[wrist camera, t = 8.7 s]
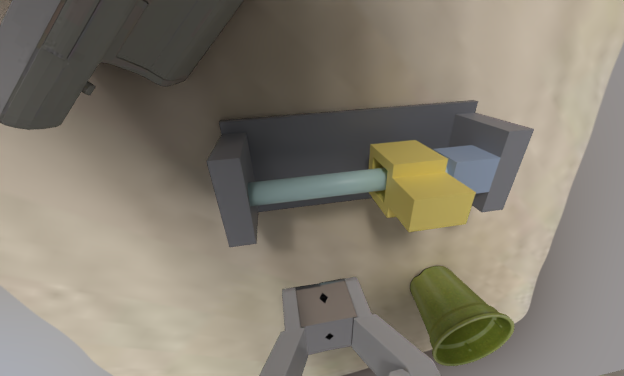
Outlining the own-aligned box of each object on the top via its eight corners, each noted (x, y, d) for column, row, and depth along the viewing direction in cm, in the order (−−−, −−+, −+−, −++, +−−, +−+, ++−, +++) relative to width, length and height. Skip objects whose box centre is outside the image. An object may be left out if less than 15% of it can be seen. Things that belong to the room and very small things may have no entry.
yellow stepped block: (366, 190, 23) (406, 244, 16) (370, 144, 21) (417, 185, 14) (408, 185, 23) (462, 235, 17) (415, 139, 21) (480, 177, 15)
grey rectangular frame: (240, 210, 25) (232, 257, 19) (220, 120, 21) (202, 145, 15) (451, 185, 28) (499, 218, 22) (473, 100, 23) (539, 115, 18)
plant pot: (454, 296, 38) (501, 356, 30) (395, 308, 37) (428, 374, 29) (467, 250, 33) (526, 307, 26) (400, 263, 32) (441, 326, 25)
